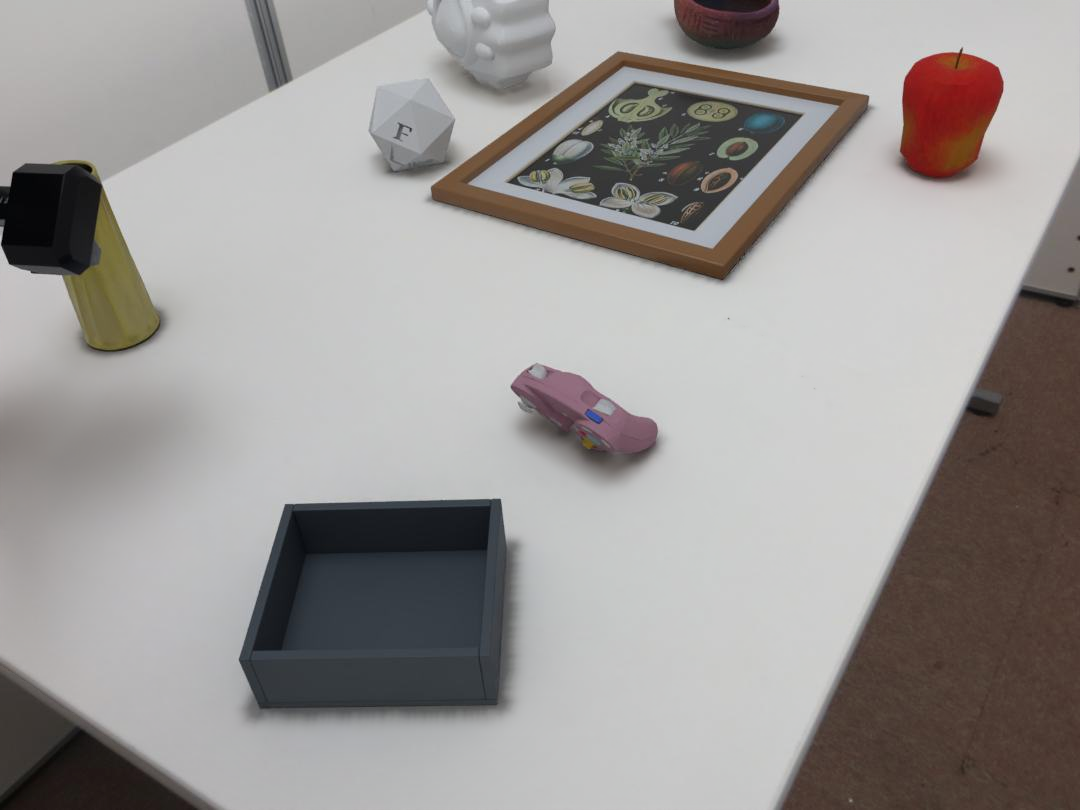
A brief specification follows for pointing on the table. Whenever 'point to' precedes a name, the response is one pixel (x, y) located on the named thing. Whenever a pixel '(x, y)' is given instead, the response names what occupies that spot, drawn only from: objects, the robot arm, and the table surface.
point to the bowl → (726, 21)
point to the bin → (380, 606)
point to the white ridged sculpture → (495, 37)
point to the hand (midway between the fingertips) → (37, 253)
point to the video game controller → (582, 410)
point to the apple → (948, 111)
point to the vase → (110, 287)
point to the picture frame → (658, 159)
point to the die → (411, 124)
